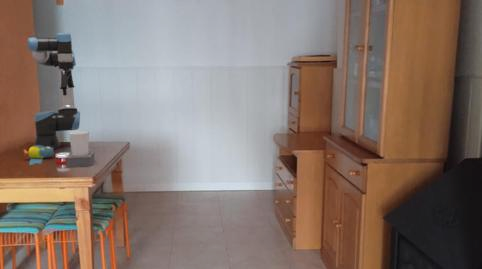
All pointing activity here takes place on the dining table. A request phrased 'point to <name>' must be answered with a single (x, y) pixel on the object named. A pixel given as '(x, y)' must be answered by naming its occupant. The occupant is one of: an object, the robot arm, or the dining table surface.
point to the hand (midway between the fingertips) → (68, 100)
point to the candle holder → (79, 143)
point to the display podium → (80, 160)
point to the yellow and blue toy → (38, 153)
